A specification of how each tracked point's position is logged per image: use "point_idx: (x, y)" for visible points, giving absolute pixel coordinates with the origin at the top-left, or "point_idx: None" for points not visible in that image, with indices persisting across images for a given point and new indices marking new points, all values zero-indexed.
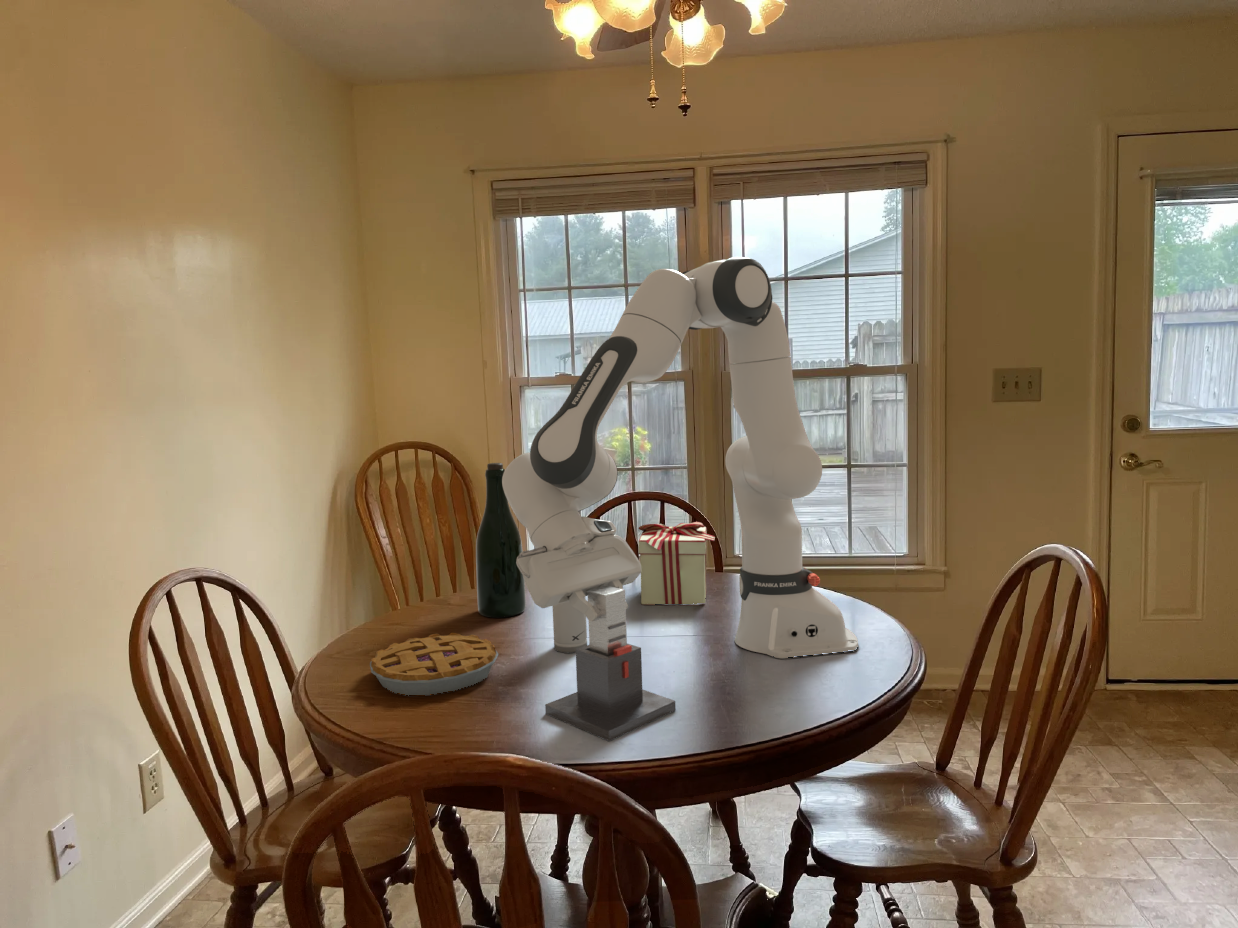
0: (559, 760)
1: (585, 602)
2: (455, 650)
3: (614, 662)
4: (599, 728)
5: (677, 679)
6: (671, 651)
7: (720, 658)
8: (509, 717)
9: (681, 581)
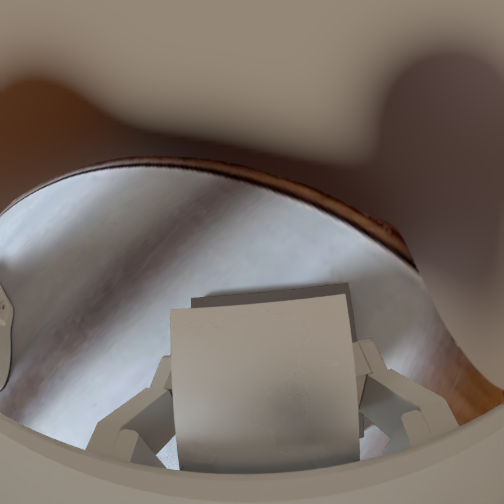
0: (421, 284)
1: (409, 383)
2: None
3: None
4: (350, 304)
5: (110, 381)
6: None
7: (36, 374)
8: None
9: None
